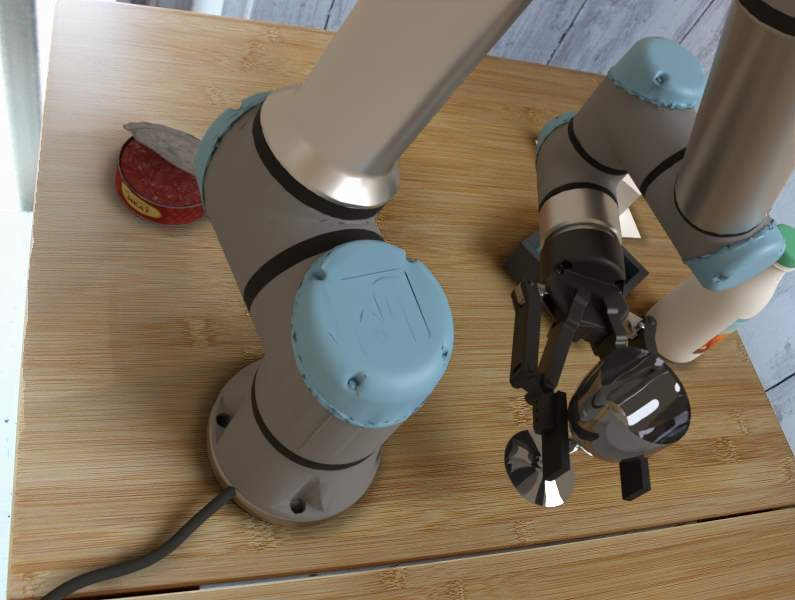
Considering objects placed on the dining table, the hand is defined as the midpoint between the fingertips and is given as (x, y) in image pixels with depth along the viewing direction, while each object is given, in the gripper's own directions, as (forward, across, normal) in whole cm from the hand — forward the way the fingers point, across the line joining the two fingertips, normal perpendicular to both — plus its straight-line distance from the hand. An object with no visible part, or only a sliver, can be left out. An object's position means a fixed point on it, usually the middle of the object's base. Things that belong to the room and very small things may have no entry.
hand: (597, 484), depth 64 cm
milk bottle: (-30, -22, -16) cm, 40 cm away
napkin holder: (-49, -13, -16) cm, 53 cm away
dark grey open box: (-33, -9, -16) cm, 38 cm away
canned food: (-29, +37, -16) cm, 50 cm away
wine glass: (-4, 0, -8) cm, 9 cm away
